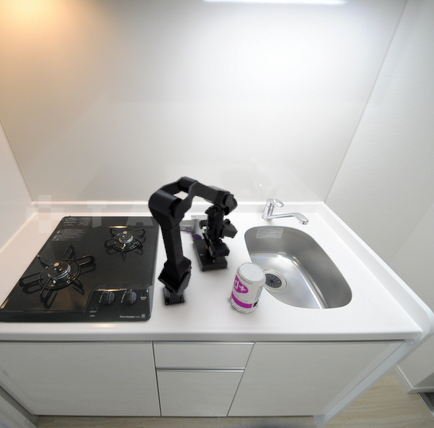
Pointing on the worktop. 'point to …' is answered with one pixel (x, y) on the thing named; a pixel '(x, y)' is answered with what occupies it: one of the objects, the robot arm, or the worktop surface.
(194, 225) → the infrared thermometer
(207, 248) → the stove knob
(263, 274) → the supplement can
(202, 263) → the stove panel
